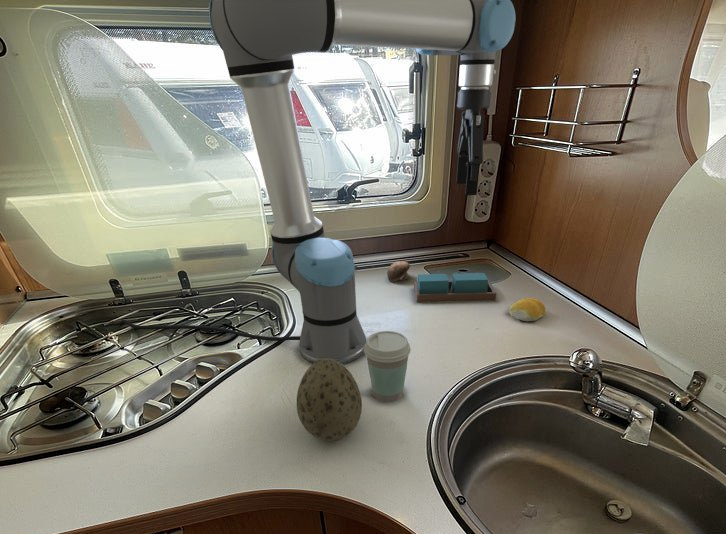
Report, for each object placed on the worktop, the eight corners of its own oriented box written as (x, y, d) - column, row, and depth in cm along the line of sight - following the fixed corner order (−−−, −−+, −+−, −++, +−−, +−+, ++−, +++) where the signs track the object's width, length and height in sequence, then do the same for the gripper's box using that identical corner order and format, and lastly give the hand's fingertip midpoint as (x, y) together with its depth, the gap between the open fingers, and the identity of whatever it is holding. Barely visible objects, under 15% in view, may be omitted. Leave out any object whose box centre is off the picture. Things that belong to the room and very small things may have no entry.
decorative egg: (369, 416, 77) (366, 346, 69) (355, 459, 69) (349, 385, 60) (313, 410, 79) (303, 341, 70) (292, 451, 71) (278, 377, 62)
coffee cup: (380, 376, 88) (379, 325, 81) (417, 388, 84) (419, 336, 77) (357, 398, 82) (354, 345, 75) (395, 412, 78) (396, 358, 71)
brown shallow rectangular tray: (416, 303, 116) (417, 295, 114) (413, 289, 123) (414, 281, 122) (495, 301, 116) (496, 293, 114) (487, 287, 124) (488, 279, 122)
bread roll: (549, 313, 110) (552, 299, 107) (532, 325, 105) (535, 310, 102) (520, 304, 114) (523, 290, 112) (503, 315, 109) (505, 301, 107)
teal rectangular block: (453, 297, 117) (455, 280, 114) (451, 290, 121) (452, 273, 118) (486, 296, 117) (488, 279, 114) (482, 289, 121) (484, 272, 118)
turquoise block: (418, 298, 117) (419, 281, 114) (417, 291, 121) (417, 274, 118) (447, 297, 117) (449, 280, 114) (445, 290, 121) (446, 273, 118)
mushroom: (420, 268, 128) (408, 252, 125) (408, 286, 124) (395, 270, 121) (403, 274, 134) (391, 259, 131) (391, 292, 131) (378, 276, 128)
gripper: (505, 89, 86) (491, 200, 99) (480, 87, 106) (471, 179, 119) (468, 90, 86) (459, 200, 98) (450, 87, 106) (444, 179, 119)
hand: (465, 189), depth 109 cm, fingers open, 13 cm apart
